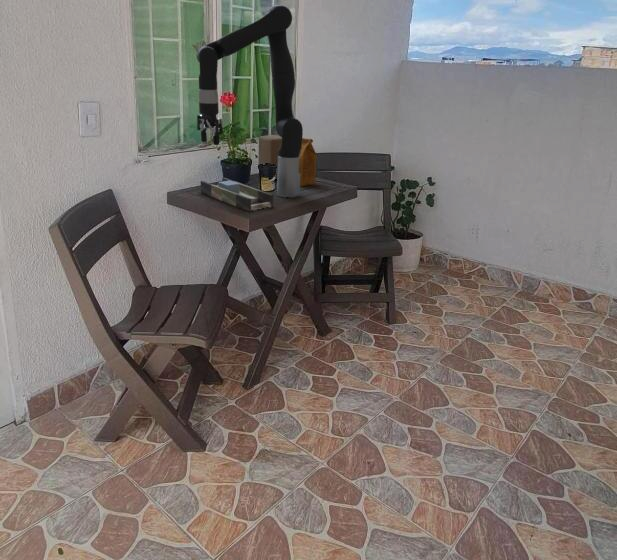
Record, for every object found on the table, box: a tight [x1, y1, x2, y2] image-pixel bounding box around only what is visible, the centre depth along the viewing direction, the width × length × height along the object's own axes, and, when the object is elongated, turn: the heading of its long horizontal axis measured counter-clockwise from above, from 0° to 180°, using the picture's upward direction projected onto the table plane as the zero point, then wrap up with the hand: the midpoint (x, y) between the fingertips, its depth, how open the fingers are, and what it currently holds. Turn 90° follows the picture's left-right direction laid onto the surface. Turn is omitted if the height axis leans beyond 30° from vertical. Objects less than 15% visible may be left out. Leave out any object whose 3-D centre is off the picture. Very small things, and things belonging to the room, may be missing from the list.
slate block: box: [217, 179, 240, 193], centre depth 237 cm, size 6×7×4 cm
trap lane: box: [200, 177, 274, 212], centre depth 234 cm, size 12×35×5 cm, turn 42°
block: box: [257, 134, 282, 179], centre depth 271 cm, size 10×10×20 cm
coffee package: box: [299, 137, 317, 187], centre depth 262 cm, size 10×12×22 cm
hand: (210, 143), depth 225 cm, fingers open, 8 cm apart
